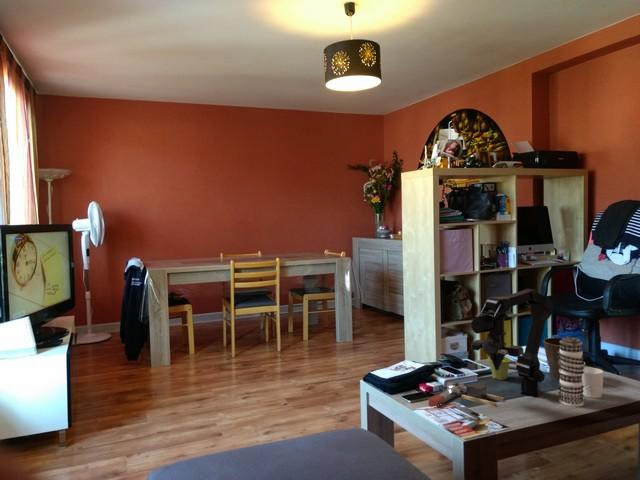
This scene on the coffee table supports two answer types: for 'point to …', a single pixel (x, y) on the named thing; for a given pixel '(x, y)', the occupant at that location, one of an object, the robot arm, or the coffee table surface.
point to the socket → (476, 391)
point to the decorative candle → (571, 372)
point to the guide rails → (484, 400)
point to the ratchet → (448, 393)
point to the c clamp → (512, 363)
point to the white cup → (592, 382)
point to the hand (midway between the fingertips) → (497, 369)
